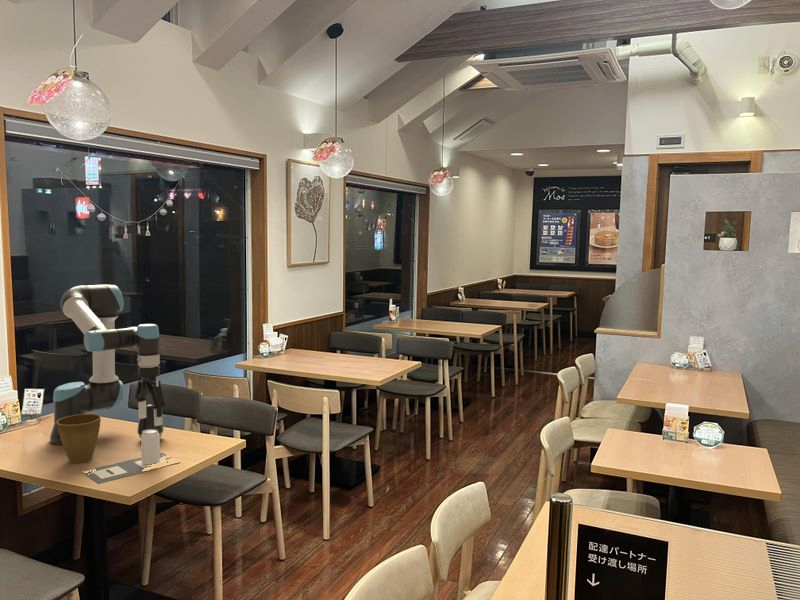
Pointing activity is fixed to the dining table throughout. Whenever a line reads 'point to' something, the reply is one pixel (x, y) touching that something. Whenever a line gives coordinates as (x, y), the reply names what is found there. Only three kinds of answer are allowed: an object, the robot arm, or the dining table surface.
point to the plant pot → (79, 436)
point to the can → (150, 446)
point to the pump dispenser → (149, 422)
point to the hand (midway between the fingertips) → (150, 421)
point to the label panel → (119, 470)
